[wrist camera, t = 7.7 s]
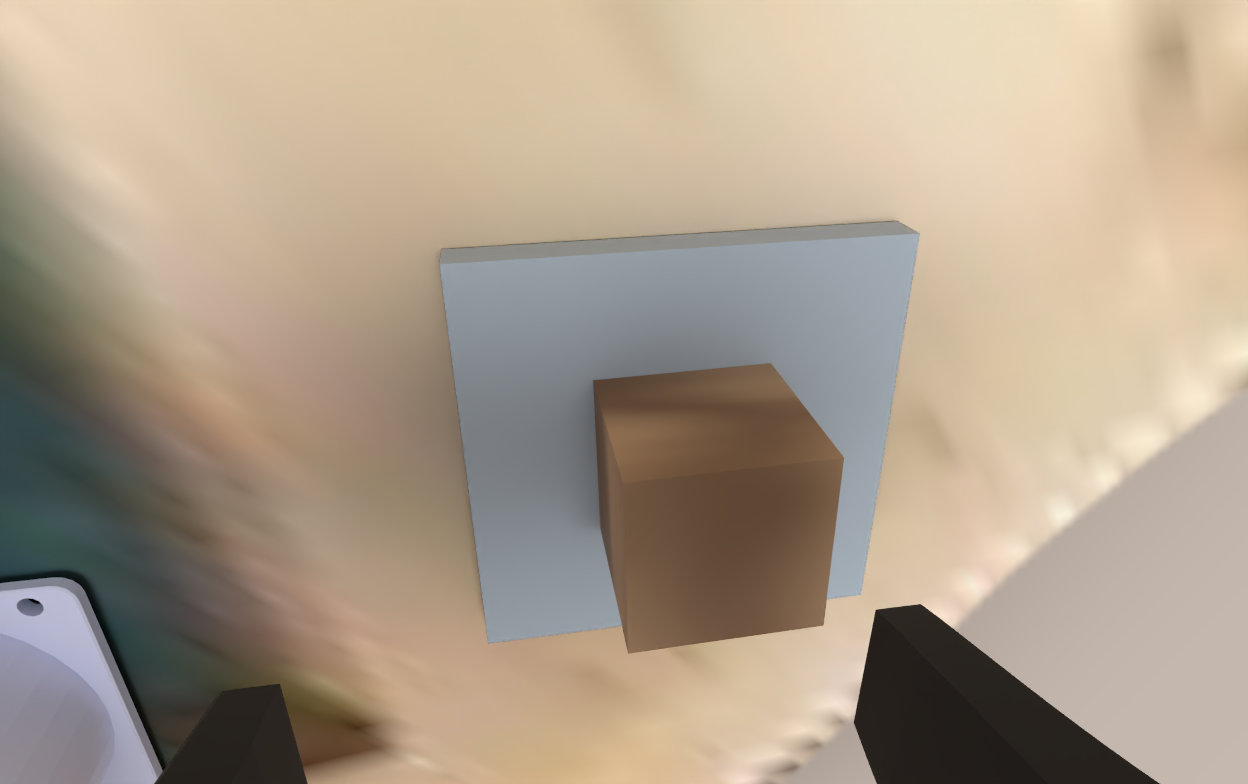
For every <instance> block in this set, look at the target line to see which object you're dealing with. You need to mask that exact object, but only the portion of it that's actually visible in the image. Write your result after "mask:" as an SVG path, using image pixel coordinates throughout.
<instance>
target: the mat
mask: <svg viewBox="0 0 1248 784" xmlns="http://www.w3.org/2000/svg"><path fill="white" fill-rule="evenodd" d="M919 235H920V233H918V232H916V231H914V230H913V229H911V228H909V227H907V226H905V225H904V224H902V223H900V222H898V221H891V222H875V223H859V224H842V225H826V226H810V227H794V228H778V229H762V230H746V231H729V232H713V233H697V234H681V235H665V236H649V237H633V238H616V239H600V240H584V241H568V242H552V243H536V244H519V245H503V246H487V247H471V248H455V249H442V250H441V257H440V264H439V265H440V273H441V280H442V288H443V296H444V304H445V312H446V319H447V327H448V335H449V343H450V350H451V358H452V366H453V374H454V381H455V389H456V397H457V405H458V412H459V420H460V428H461V436H462V444H463V451H464V459H465V467H466V475H467V482H468V490H469V498H470V506H471V513H472V521H473V529H474V537H475V545H476V552H477V560H478V568H479V576H480V583H481V591H482V599H483V607H484V614H485V622H486V630H487V638H488V644H489V643H497V642H504V641H512V640H520V639H527V638H535V637H543V636H550V635H558V634H565V633H573V632H581V631H588V630H596V629H604V628H611V627H619V626H622V623H621V619H620V614H619V610H618V605H617V601H616V597H615V592H614V588H613V583H612V579H611V574H610V570H609V565H608V561H607V556H606V552H605V547H604V543H603V538H602V534H601V530H600V511H599V490H598V470H597V449H596V429H595V408H594V388H593V380H601V379H611V378H622V377H632V376H643V375H653V374H663V373H674V372H684V371H694V370H705V369H715V368H726V367H736V366H746V365H757V364H767V363H771V364H772V365H773V366H774V368H775V369H776V370H777V372H778V373H779V374H780V375H781V377H782V378H783V379H784V381H785V382H786V383H787V385H788V386H789V387H790V388H791V390H792V391H793V392H794V394H795V395H796V396H797V397H798V399H799V400H800V401H801V403H802V404H803V405H804V406H805V408H806V409H807V410H808V412H809V413H810V414H811V416H812V417H813V418H814V419H815V421H816V422H817V423H818V425H819V426H820V427H821V428H822V430H823V431H824V432H825V434H826V435H827V436H828V437H829V439H830V440H831V441H832V443H833V444H834V445H835V446H836V448H837V449H838V450H839V452H840V453H841V454H842V456H843V457H844V464H843V472H842V480H841V488H840V496H839V504H838V512H837V520H836V528H835V536H834V544H833V552H832V560H831V568H830V576H829V584H828V592H827V599H833V598H841V597H848V596H856V595H861V590H862V584H863V578H864V572H865V566H866V560H867V554H868V548H869V541H870V535H871V529H872V523H873V517H874V511H875V505H876V498H877V492H878V486H879V480H880V474H881V468H882V462H883V455H884V449H885V443H886V437H887V431H888V425H889V419H890V413H891V406H892V400H893V394H894V388H895V382H896V376H897V370H898V363H899V357H900V351H901V345H902V339H903V333H904V327H905V320H906V314H907V308H908V302H909V296H910V290H911V284H912V278H913V271H914V265H915V259H916V253H917V247H918V241H919Z"/></svg>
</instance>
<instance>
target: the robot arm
mask: <svg viewBox="0 0 1248 784" xmlns="http://www.w3.org/2000/svg"><path fill="white" fill-rule="evenodd" d="M28 598H29V599H35V600H37V601H39V602H40V603H41V604H36V603H33V602H31V601H29V599H28ZM854 724H855V727H856V729H857V732H858V735H859V738H860V740H861V743H862V746H863V749H864V751H865V754H866V757H867V759H868V762H869V765H870V767H871V770H872V772H873V775H874V777H875V780H876V782H877V784H1159V783H1158V782H1156V781H1155V780H1154V779H1152V778H1150V777H1149V776H1148V775H1146V774H1145V773H1143V772H1142V771H1140V770H1139V769H1138V768H1136V767H1135V766H1133V765H1132V764H1130V763H1129V762H1128V761H1126V760H1125V759H1123V758H1122V757H1121V756H1119V755H1118V754H1116V753H1115V752H1114V751H1112V750H1111V749H1109V748H1108V747H1107V746H1105V745H1104V744H1103V743H1101V742H1100V741H1099V740H1097V739H1096V738H1095V737H1093V736H1092V735H1090V734H1089V733H1088V732H1086V731H1085V730H1084V729H1082V728H1081V727H1079V726H1078V725H1077V724H1075V723H1074V722H1073V721H1072V720H1070V719H1069V718H1068V717H1066V716H1065V715H1064V714H1062V713H1061V712H1060V711H1058V710H1057V709H1055V708H1054V707H1053V706H1052V705H1050V704H1049V703H1048V702H1046V701H1045V700H1044V699H1043V698H1041V697H1040V696H1039V695H1037V694H1036V693H1035V692H1033V691H1032V690H1031V689H1030V688H1028V687H1027V686H1026V685H1024V684H1023V683H1022V682H1020V681H1019V680H1018V679H1017V678H1015V677H1014V676H1013V675H1011V674H1010V673H1009V672H1008V671H1006V670H1005V669H1004V668H1003V667H1001V666H1000V665H999V664H997V663H996V662H995V661H993V660H992V659H991V658H990V657H988V656H987V655H986V654H985V653H983V652H982V651H981V650H979V649H978V648H977V647H976V646H974V645H973V644H972V643H971V642H969V641H968V640H967V639H965V638H964V637H963V636H962V635H960V634H959V633H958V632H957V631H955V630H954V629H953V628H951V627H950V626H949V625H948V624H946V623H945V622H944V621H942V620H941V619H940V618H938V617H937V616H936V615H934V614H933V613H932V612H930V611H929V610H928V609H926V608H925V607H924V606H922V605H921V604H919V605H911V606H902V607H894V608H886V609H878V610H876V612H875V617H874V622H873V627H872V632H871V637H870V643H869V648H868V653H867V658H866V663H865V668H864V673H863V678H862V683H861V689H860V694H859V699H858V704H857V709H856V714H855V719H854ZM0 784H307V780H306V777H305V773H304V770H303V766H302V762H301V759H300V755H299V752H298V748H297V744H296V741H295V737H294V734H293V730H292V726H291V723H290V719H289V716H288V712H287V708H286V705H285V701H284V698H283V694H282V690H281V687H280V684H275V685H267V686H259V687H251V688H243V689H235V690H227V691H222V692H221V693H220V694H219V696H218V697H217V698H216V699H215V700H214V701H213V702H212V704H211V705H210V707H209V708H208V709H207V711H206V712H205V714H204V715H203V716H202V718H201V719H200V721H199V722H198V723H197V725H196V726H195V728H194V729H193V730H192V732H191V733H190V735H189V736H188V737H187V739H186V740H185V742H184V743H183V744H182V746H181V747H180V749H179V750H178V751H177V753H176V754H175V755H174V757H173V758H172V760H171V761H170V762H169V764H168V765H167V767H166V768H165V769H164V771H163V770H162V768H161V766H160V764H159V761H158V759H157V757H156V754H155V752H154V750H153V747H152V745H151V743H150V740H149V738H148V736H147V734H146V731H145V729H144V727H143V724H142V722H141V720H140V717H139V715H138V713H137V710H136V708H135V706H134V704H133V701H132V699H131V697H130V694H129V692H128V690H127V687H126V685H125V683H124V680H123V678H122V676H121V674H120V671H119V669H118V667H117V664H116V662H115V660H114V657H113V655H112V653H111V650H110V648H109V646H108V644H107V641H106V639H105V637H104V634H103V632H102V630H101V627H100V625H99V623H98V620H97V618H96V616H95V614H94V611H93V609H92V607H91V604H90V602H89V600H88V597H87V595H86V593H85V591H84V590H83V588H82V587H81V585H79V584H78V583H76V582H75V581H73V580H70V579H67V578H61V577H52V578H43V579H34V580H25V581H16V582H7V583H0Z"/></svg>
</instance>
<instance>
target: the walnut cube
mask: <svg viewBox="0 0 1248 784" xmlns="http://www.w3.org/2000/svg"><path fill="white" fill-rule="evenodd" d="M593 388H594V408H595V429H596V449H597V470H598V490H599V511H600V530H601V534H602V538H603V543H604V547H605V552H606V556H607V561H608V565H609V570H610V574H611V579H612V583H613V588H614V592H615V597H616V601H617V605H618V610H619V614H620V619H621V623H622V628H623V632H624V637H625V641H626V646H627V650H628V653H635V652H642V651H649V650H655V649H662V648H669V647H676V646H683V645H690V644H697V643H704V642H711V641H718V640H725V639H732V638H739V637H746V636H753V635H760V634H767V633H774V632H781V631H788V630H795V629H802V628H809V627H816V626H823V625H824V616H825V608H826V600H827V592H828V584H829V576H830V568H831V560H832V552H833V544H834V536H835V528H836V520H837V512H838V504H839V496H840V488H841V480H842V472H843V464H844V457H843V456H842V454H841V453H840V452H839V450H838V449H837V448H836V446H835V445H834V444H833V443H832V441H831V440H830V439H829V437H828V436H827V435H826V434H825V432H824V431H823V430H822V428H821V427H820V426H819V425H818V423H817V422H816V421H815V419H814V418H813V417H812V416H811V414H810V413H809V412H808V410H807V409H806V408H805V406H804V405H803V404H802V403H801V401H800V400H799V399H798V397H797V396H796V395H795V394H794V392H793V391H792V390H791V388H790V387H789V386H788V385H787V383H786V382H785V381H784V379H783V378H782V377H781V375H780V374H779V373H778V372H777V370H776V369H775V368H774V366H773V365H772V364H771V363H767V364H757V365H746V366H736V367H726V368H715V369H705V370H694V371H684V372H674V373H663V374H653V375H643V376H632V377H622V378H611V379H601V380H593Z"/></svg>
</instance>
